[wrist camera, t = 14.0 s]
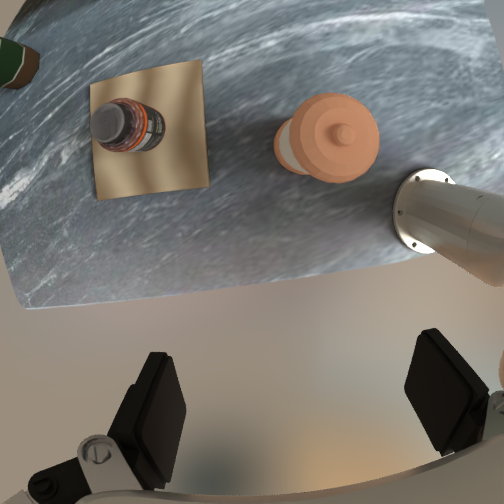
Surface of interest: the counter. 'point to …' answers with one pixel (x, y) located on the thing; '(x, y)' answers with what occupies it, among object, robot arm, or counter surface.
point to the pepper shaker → (328, 139)
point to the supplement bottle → (127, 126)
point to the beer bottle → (17, 64)
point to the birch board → (175, 138)
